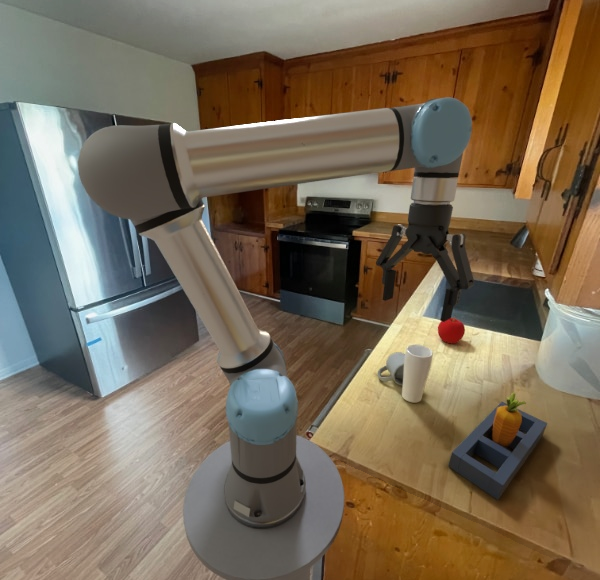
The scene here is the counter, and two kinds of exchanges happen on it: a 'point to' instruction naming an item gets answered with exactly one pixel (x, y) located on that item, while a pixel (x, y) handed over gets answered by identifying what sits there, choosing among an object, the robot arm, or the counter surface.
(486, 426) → the block with rectangular holes
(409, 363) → the drinking glass
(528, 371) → the counter surface
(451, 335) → the fruit
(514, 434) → the carrot
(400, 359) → the ceramic mug
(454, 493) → the counter surface
